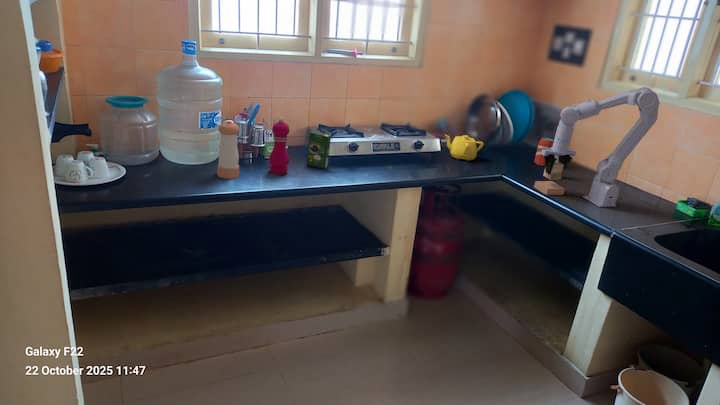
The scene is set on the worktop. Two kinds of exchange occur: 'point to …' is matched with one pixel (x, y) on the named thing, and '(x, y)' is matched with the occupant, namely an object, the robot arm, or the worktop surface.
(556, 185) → the base
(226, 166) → the salt shaker
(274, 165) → the pepper mill
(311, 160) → the coffee box
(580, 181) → the worktop surface
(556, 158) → the robot arm
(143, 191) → the worktop surface
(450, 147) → the teapot
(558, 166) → the block
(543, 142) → the beverage can
